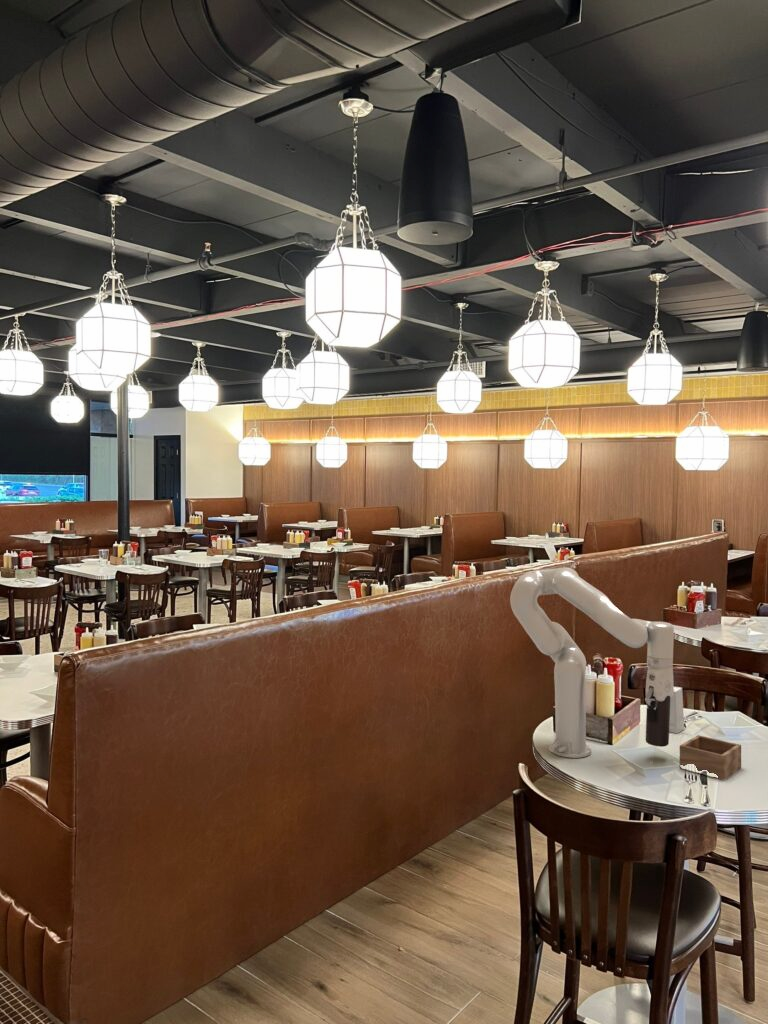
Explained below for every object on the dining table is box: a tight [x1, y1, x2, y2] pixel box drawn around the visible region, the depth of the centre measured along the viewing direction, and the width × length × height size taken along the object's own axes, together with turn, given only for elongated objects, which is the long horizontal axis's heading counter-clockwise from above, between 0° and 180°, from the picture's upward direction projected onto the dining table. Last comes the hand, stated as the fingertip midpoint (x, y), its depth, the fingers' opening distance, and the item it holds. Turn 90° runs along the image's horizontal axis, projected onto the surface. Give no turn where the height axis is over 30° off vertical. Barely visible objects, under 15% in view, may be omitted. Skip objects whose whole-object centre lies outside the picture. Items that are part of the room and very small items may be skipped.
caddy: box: [679, 734, 742, 781], centre depth 224 cm, size 13×13×7 cm
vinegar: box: [645, 696, 670, 748], centre depth 232 cm, size 7×7×20 cm
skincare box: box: [669, 686, 685, 734], centre depth 260 cm, size 8×6×15 cm
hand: (657, 718), depth 232 cm, fingers closed on vinegar, 6 cm apart
